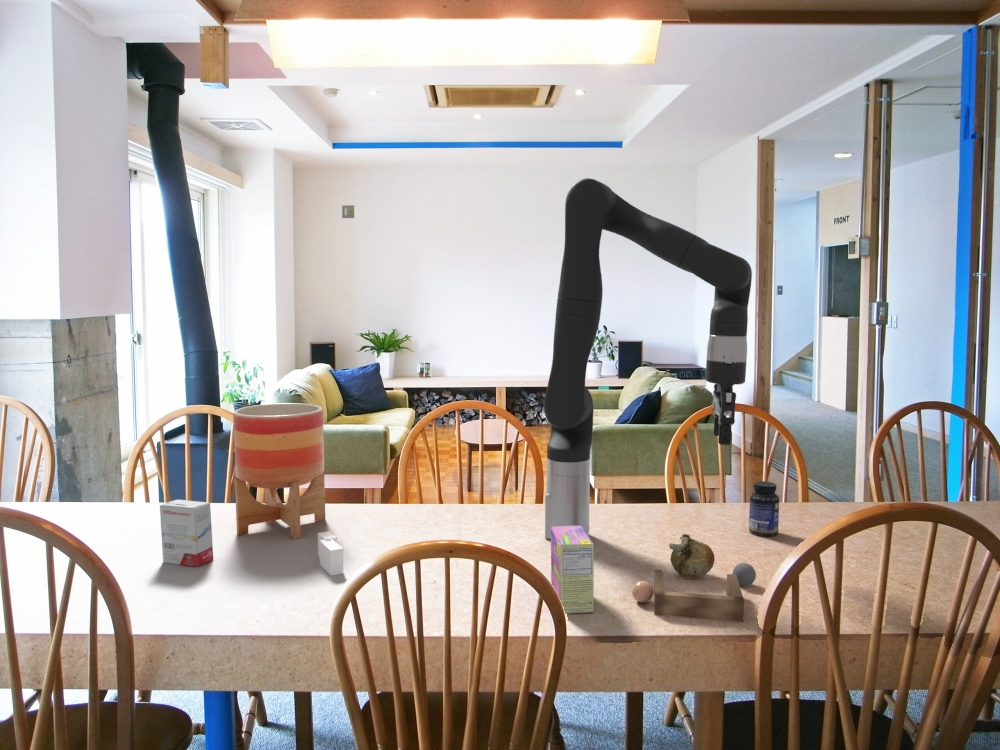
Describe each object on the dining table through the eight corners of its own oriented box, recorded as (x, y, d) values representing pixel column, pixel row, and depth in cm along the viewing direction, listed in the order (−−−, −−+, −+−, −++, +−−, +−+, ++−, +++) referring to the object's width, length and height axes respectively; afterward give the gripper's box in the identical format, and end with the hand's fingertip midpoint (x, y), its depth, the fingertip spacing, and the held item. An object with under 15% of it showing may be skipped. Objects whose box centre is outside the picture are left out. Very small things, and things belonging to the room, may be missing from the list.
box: (550, 590, 136) (550, 525, 135) (581, 589, 136) (582, 524, 135) (559, 615, 126) (559, 545, 124) (593, 613, 126) (594, 544, 125)
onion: (709, 586, 138) (711, 543, 137) (665, 579, 141) (666, 537, 140) (717, 572, 144) (718, 531, 144) (674, 566, 148) (675, 525, 147)
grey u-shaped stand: (654, 614, 125) (655, 594, 125) (653, 588, 137) (654, 569, 136) (743, 621, 123) (744, 600, 123) (735, 593, 134) (735, 574, 134)
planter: (341, 530, 170) (338, 410, 167) (251, 547, 159) (246, 419, 156) (309, 509, 186) (306, 400, 184) (225, 523, 175) (220, 407, 172)
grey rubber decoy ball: (733, 588, 137) (734, 566, 136) (731, 580, 140) (731, 559, 140) (757, 590, 136) (757, 568, 135) (753, 581, 140) (754, 560, 139)
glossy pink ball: (631, 605, 129) (631, 584, 129) (631, 597, 133) (632, 576, 132) (653, 606, 129) (653, 586, 128) (652, 598, 132) (653, 578, 132)
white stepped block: (348, 581, 141) (347, 551, 141) (289, 578, 143) (288, 549, 142) (372, 554, 156) (371, 527, 156) (318, 551, 158) (317, 524, 157)
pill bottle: (780, 538, 164) (782, 487, 163) (750, 536, 166) (752, 486, 164) (775, 529, 170) (777, 480, 169) (747, 527, 172) (748, 479, 170)
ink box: (214, 559, 152) (212, 501, 150) (197, 568, 147) (194, 508, 146) (179, 554, 154) (176, 497, 153) (161, 562, 150) (158, 504, 149)
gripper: (703, 354, 157) (698, 432, 159) (710, 361, 143) (705, 446, 145) (741, 356, 156) (736, 434, 158) (752, 362, 142) (746, 448, 144)
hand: (721, 440), depth 151 cm, fingers open, 8 cm apart
